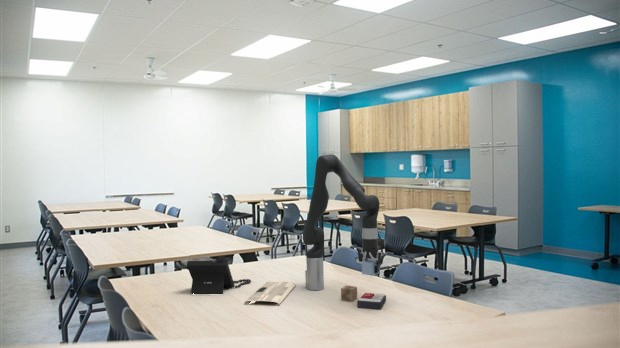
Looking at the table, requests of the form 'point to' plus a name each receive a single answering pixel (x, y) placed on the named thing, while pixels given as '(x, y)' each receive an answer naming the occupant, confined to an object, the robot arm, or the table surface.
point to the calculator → (371, 301)
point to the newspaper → (272, 292)
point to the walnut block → (349, 293)
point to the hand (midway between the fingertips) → (370, 272)
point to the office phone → (211, 276)
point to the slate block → (368, 267)
